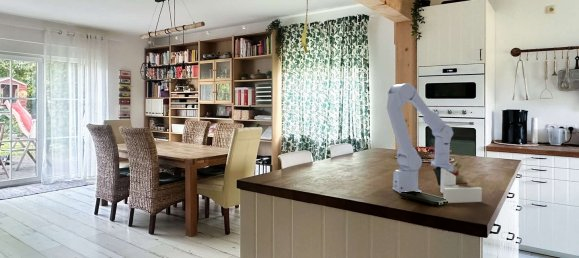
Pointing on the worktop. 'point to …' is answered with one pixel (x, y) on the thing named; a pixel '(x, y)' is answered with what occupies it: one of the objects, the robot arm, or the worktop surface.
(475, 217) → the worktop surface
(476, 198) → the wall panel
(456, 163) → the chocolate bunny
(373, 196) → the worktop surface
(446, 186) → the white wedge bracket
